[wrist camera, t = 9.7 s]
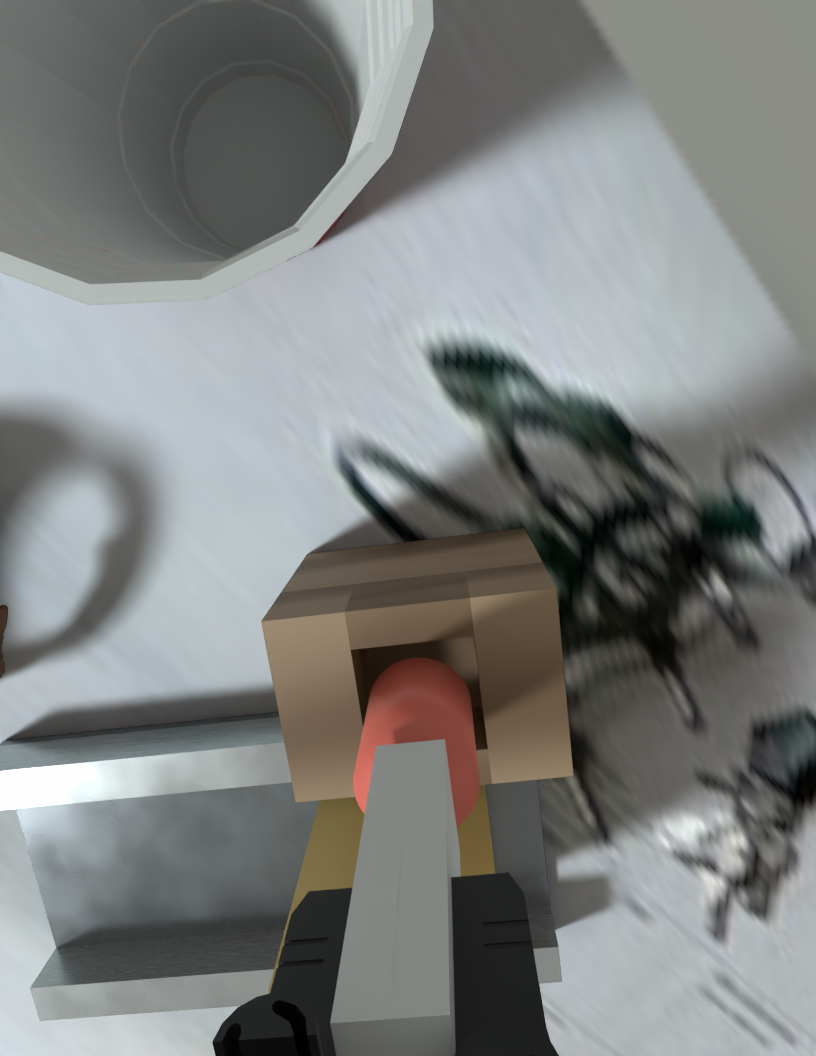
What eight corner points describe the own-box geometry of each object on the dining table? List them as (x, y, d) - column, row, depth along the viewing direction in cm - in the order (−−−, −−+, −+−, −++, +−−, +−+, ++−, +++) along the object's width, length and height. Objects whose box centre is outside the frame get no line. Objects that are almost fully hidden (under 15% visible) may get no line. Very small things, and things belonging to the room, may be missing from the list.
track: (3, 740, 28) (-36, 774, 26) (526, 686, 27) (535, 717, 24) (70, 970, 31) (39, 1020, 28) (551, 932, 29) (562, 981, 27)
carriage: (323, 772, 27) (253, 1024, 17) (484, 756, 27) (513, 1005, 16) (349, 916, 28) (299, 1230, 18) (501, 903, 28) (539, 1218, 18)
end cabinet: (307, 553, 26) (261, 621, 19) (524, 528, 25) (556, 588, 18) (332, 696, 27) (296, 808, 20) (538, 675, 27) (574, 782, 20)
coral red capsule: (361, 663, 19) (344, 734, 15) (465, 652, 19) (471, 720, 15) (376, 756, 19) (363, 844, 16) (476, 746, 19) (485, 833, 16)
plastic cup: (502, 200, 23) (571, 27, 11) (249, 398, 25) (80, 429, 13) (297, -111, 21) (126, -700, 9) (40, 128, 23) (-371, -119, 11)
